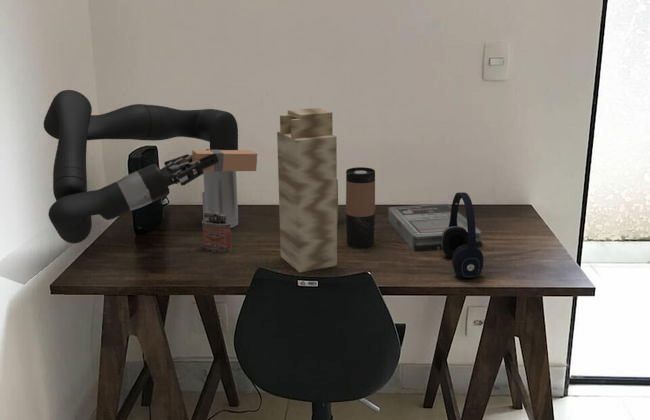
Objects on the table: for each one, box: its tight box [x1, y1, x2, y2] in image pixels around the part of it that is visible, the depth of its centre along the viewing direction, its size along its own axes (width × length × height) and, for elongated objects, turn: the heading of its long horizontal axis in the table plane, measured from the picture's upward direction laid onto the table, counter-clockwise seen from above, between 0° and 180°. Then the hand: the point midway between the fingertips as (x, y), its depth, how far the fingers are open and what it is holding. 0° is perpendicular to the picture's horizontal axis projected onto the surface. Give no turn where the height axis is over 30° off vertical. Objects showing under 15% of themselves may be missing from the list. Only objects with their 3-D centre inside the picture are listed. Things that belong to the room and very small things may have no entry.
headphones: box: [441, 191, 484, 280], centre depth 168 cm, size 20×7×18 cm, turn 2°
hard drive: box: [388, 203, 483, 252], centre depth 195 cm, size 18×27×4 cm
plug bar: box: [191, 149, 258, 172], centre depth 160 cm, size 14×4×4 cm, turn 115°
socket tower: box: [276, 107, 338, 273], centre depth 170 cm, size 10×12×37 cm
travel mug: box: [345, 166, 376, 249], centre depth 184 cm, size 8×8×20 cm
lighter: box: [201, 212, 233, 253], centre depth 183 cm, size 8×3×10 cm, turn 71°
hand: (213, 155), depth 158 cm, fingers closed on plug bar, 4 cm apart
